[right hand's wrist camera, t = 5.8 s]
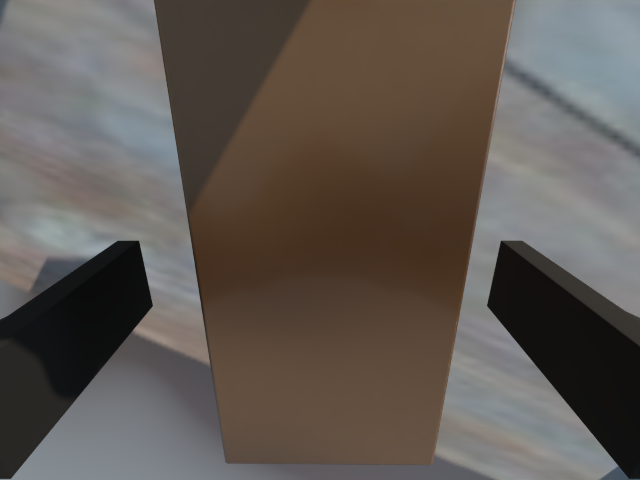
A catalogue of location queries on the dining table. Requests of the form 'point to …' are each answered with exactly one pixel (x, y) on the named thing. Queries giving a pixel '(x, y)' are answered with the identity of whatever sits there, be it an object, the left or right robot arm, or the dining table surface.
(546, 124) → the dining table surface
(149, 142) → the dining table surface
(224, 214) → the bar
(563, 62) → the dining table surface
